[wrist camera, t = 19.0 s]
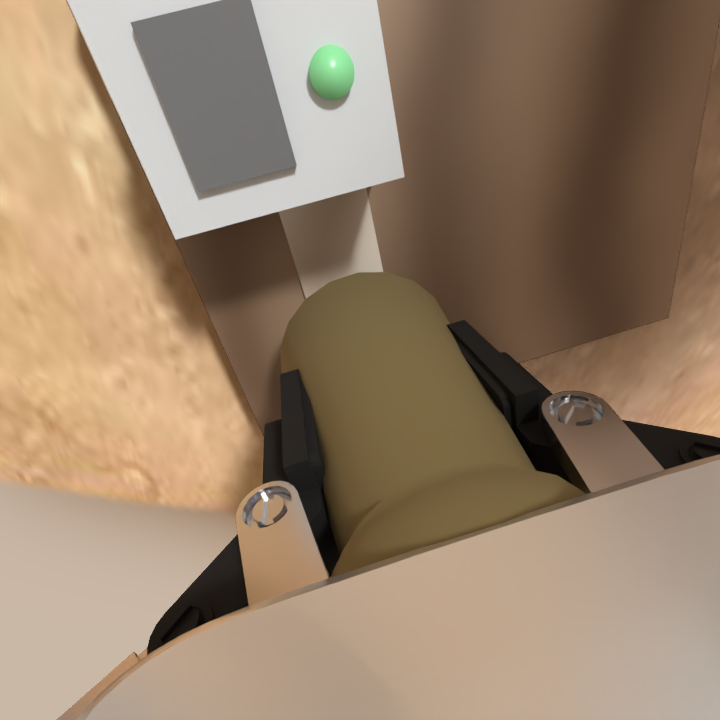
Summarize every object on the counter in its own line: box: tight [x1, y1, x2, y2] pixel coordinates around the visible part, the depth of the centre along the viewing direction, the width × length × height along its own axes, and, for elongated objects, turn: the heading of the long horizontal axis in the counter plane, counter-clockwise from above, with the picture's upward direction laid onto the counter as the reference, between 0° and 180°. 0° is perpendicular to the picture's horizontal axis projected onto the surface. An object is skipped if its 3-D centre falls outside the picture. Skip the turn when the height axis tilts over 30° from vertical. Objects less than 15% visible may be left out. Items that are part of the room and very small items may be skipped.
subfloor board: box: [66, 0, 720, 436], centre depth 15 cm, size 19×16×2 cm
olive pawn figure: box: [280, 272, 586, 578], centre depth 9 cm, size 6×6×11 cm
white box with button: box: [67, 0, 405, 240], centre depth 10 cm, size 6×5×3 cm
